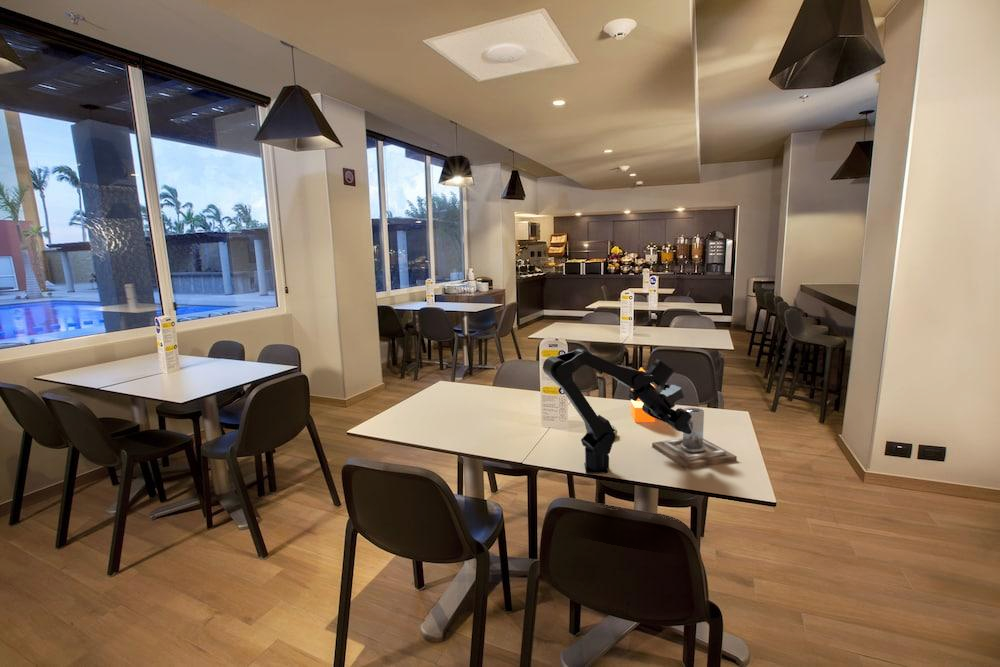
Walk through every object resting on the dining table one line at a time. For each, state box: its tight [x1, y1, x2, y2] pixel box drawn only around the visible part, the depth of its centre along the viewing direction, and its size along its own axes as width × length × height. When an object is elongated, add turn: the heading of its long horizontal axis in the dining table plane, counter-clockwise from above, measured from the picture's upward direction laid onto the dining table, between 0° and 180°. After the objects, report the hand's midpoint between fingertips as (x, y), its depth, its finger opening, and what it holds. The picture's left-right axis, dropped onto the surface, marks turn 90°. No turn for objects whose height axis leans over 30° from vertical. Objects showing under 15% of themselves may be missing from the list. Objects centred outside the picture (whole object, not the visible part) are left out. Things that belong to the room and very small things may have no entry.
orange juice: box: [630, 367, 656, 423], centre depth 187 cm, size 8×9×20 cm
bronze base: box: [651, 437, 738, 470], centre depth 154 cm, size 18×18×2 cm
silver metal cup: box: [681, 407, 705, 454], centre depth 153 cm, size 7×7×13 cm
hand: (681, 428), depth 151 cm, fingers open, 9 cm apart
